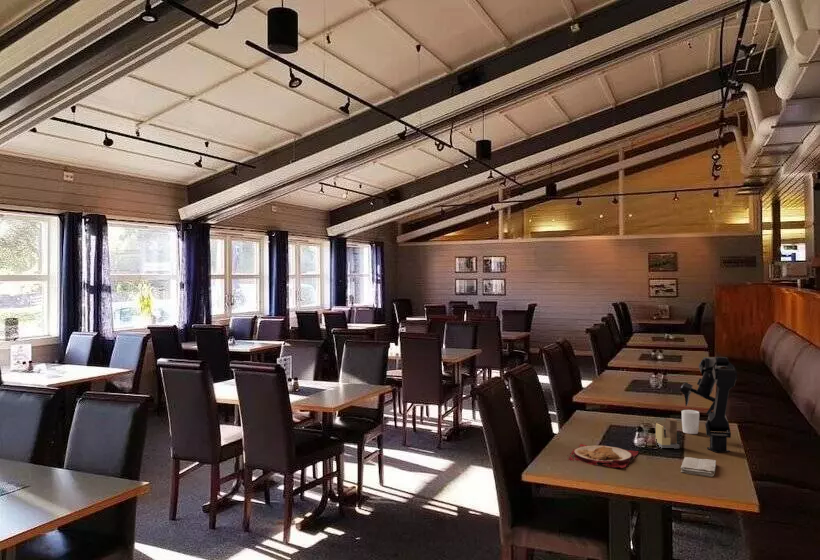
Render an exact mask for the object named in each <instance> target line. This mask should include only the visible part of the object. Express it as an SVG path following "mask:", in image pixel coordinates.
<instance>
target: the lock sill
mask: <svg viewBox="0 0 820 560" xmlns="http://www.w3.org/2000/svg"><path fill="white" fill-rule="evenodd" d="M664 429H665V427H664V426H663V425H661V424H659V423H657V422H656V423H655V440H656V439H657V443H658V445H659V447H658V448H660V447H661V448H660V449H662V448H674V449H680V444H678V443H670V438H666V434H665V431H664Z"/></svg>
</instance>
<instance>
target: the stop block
mask: <svg viewBox="0 0 820 560" xmlns="http://www.w3.org/2000/svg"><path fill="white" fill-rule="evenodd" d="M677 430H678V420H677V419H674V418H671V417H667V418H665V438H670V443H677V441H678V439H677V438H678V437H677V435H678V434H677V433H678V431H677ZM677 444H678V443H677Z"/></svg>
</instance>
